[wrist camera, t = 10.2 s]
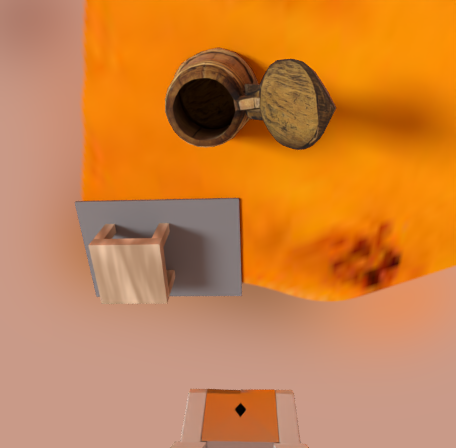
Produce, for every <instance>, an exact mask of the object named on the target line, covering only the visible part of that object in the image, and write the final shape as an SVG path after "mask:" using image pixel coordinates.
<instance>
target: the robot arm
mask: <svg viewBox="0 0 456 448" xmlns="http://www.w3.org/2000/svg"><path fill="white" fill-rule="evenodd" d="M170 448H309V447H308V446H307V445H306V444H301V442H300V435H299V428H298V420H297V413H296V406H295V398H294V393H293V391H292V390H219V389H190V391H189V394H188V400H187V406H186V411H185V417H184V423H183V429H182V435H181V441H178V442H174V444H173V445H172V446H171V447H170Z"/></svg>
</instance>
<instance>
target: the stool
mask: <svg viewBox="0 0 456 448" xmlns="http://www.w3.org/2000/svg"><path fill="white" fill-rule="evenodd" d="M169 232H170V230H169V223H159V224H158V226H157V228H156V230H155V233H154V235H153V237H152V238H131V239H112V238H113V237H114V235H115V234H116V228H115V224H105V225H104V226H103V228H102V229H101V230H100V231H99V233H98V234H97V235H96V236H95V238H94V239H93V240H92V241H91V243H90V244H89V245H88V246H89V250H90V254H91V259H92V263H93V268H94V272H95V276H96V281H97V285H98V290H99V294H100V298H101V303H102V304H105V303H106V304H109V303H110V304H115V303H116V304H120V303H121V304H123V303H167V302H168V299H169V296H170V293H171V290H172V286H173V283H174V280H175V271H174V270H166V264H165V257H164V249H163V247H164V244H165V242H166V240H167V237H168V235H169Z"/></svg>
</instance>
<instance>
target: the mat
mask: <svg viewBox="0 0 456 448" xmlns="http://www.w3.org/2000/svg"><path fill="white" fill-rule="evenodd" d="M75 206H76V210H77V214H78V219H79V223H80V227H81V232H82V236H83V240H84V244H85V249H86V253H87V257H88V262H89V266H90V270H91V274H92V279H93V283H94V288H95V292H96V296H97V297H100V294H99V290H98V285H97V281H96V276H95V272H94V268H93V263H92V259H91V254H90V250H89V246H88V245H89V244H90V243H91V241H92V240H93V239H94V238H95V236H96V235H97V234H98V233H99V231H100V230H101V229H102V228H103V226H104V225H105V224H115V228H116V234H115V235H114V237H113V238H112V239H131V238H152V237H153V235H154V233H155V230H156V228H157V226H158V224H159V223H169V230H170V232H169V235H168V237H167V240H166V242H165V244H164V247H163V249H164V257H165V264H166V270H174V271H175V280H174V283H173V286H172V290H171V293H170V296H242V284H241V250H240V217H239V198H215V199H167V200H118V201H76V202H75Z"/></svg>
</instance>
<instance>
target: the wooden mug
mask: <svg viewBox="0 0 456 448" xmlns="http://www.w3.org/2000/svg"><path fill="white" fill-rule="evenodd" d="M335 109H336V106H335V104H334V103H333V101H332V99H331V97H330V95H329V93H328V91H327V90H326V88H325V86H324V85H323V83H322V82H321V80H320V79H319V77H318V76H317V74H316V72H314V71H313V70H312V69H311V68H310V67H309V66H308V65H306V64H305V63H304V62H302V61H299V60H295V59H284V60H277V61H275V62H274V63H273V64H271V65H270V66H269V68H268V69H267V71H266V73H265V75H264V77H263V79H262V81H261V83H260V84H258V80H257V79H256V77H255V75H254V73H253V71H252V69H251V68H250V67H249V65H248V64H247V63H246V62H245V60H244V59H242V58H241V57H240V56H239V55H238V54H237V53H236V52H233V51H229V50H226V49H222V48H214V49H210V50H206V51H203V52H200V53H198V54H196V55H195V56H193V57H191V58H189V59H188V60H186V61H185V62H183V63H182V64H181V65H180V67H179V69H178V70H177V72H176V73H175V77H174V79H173V81H172V83H171V84H170V86H169V88H168V90H167V94H166V98H165V112H166V115H167V118H168V121H169V123H170V125H171V126H172V128H173V130H174V131H175V133H176V134H177V135H178V136H179V137H180V138H181V139H183V140H184V141H186V142H187V143H189V144H192V145H195V146H198V147H214V146H217V145H221V144H223V143H225V142H227V141H229V140H230V139H232V138H234V136H235V135H236V134H237V133H238V132H239V130H240V129H242V127H243V126H244V125H245V124H246V123H247V122H248V121H249V119H255V120H263V121H264V123H265V124H266V127H267V129H268V130H269V132H270V133H271V134H272V136H273V137H274V138H275V139H276V141H277V142H279V143H280V144H282V145H283V146H286V147H289V148H292V149H297V150H300V149H306V148H309V147H311V146H313V145H314V144H315V143H316V142H317V141H318V140H319V139H320V137H321V136H322V134H323V133H324V131H325V129H326V127H327V125H328V123H329V121H330V119H331V117H332V115H333V113H334V111H335Z"/></svg>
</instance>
